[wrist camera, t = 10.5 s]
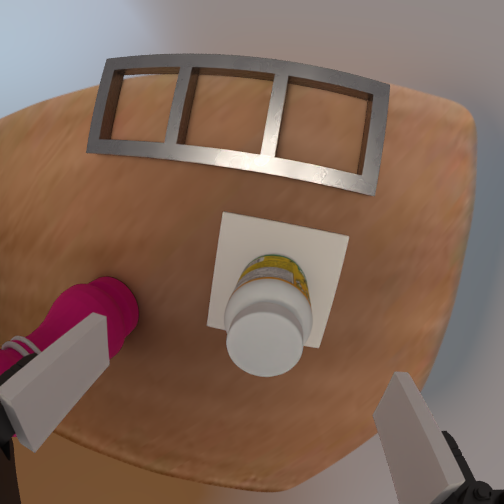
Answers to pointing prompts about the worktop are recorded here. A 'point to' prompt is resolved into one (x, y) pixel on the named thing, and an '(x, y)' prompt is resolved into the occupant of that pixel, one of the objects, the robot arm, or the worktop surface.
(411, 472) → the robot arm
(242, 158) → the rack frame
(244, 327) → the supplement bottle
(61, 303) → the pepper mill
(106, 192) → the worktop surface
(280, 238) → the white mat
